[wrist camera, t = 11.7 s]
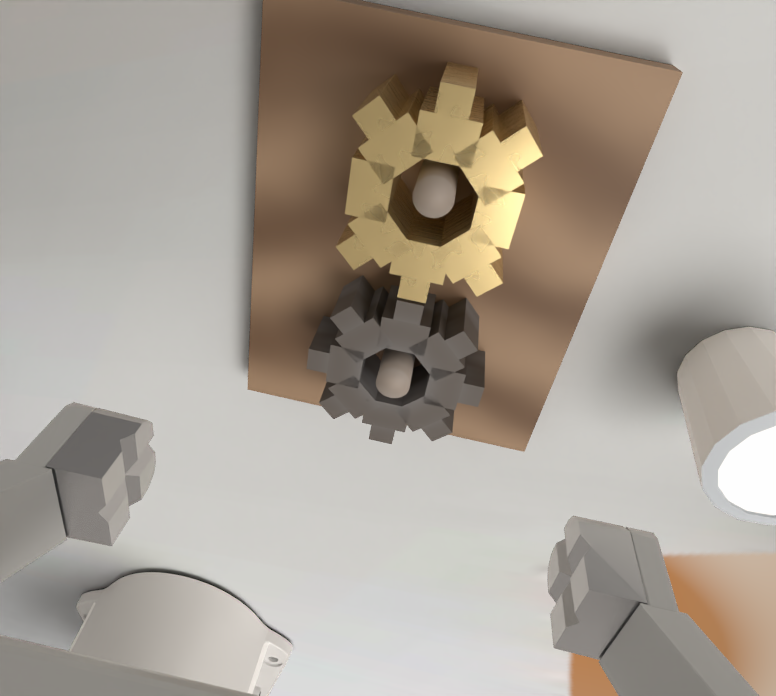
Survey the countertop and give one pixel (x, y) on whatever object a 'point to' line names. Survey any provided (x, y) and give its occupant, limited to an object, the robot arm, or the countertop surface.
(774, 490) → the white short cylinder
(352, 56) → the gear board
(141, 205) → the countertop surface
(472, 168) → the brass gear
